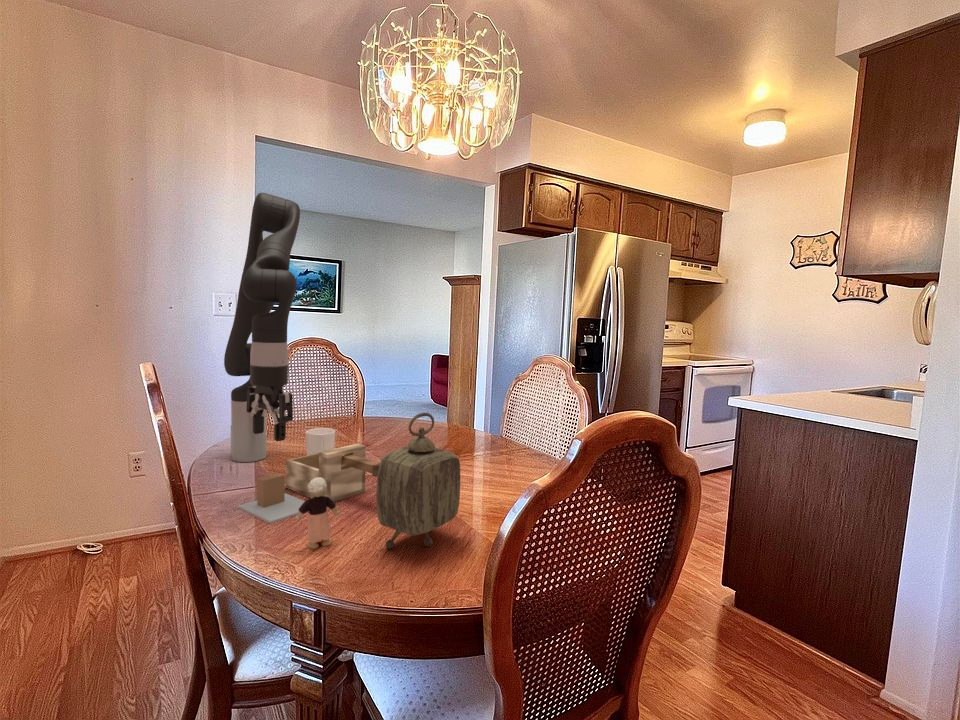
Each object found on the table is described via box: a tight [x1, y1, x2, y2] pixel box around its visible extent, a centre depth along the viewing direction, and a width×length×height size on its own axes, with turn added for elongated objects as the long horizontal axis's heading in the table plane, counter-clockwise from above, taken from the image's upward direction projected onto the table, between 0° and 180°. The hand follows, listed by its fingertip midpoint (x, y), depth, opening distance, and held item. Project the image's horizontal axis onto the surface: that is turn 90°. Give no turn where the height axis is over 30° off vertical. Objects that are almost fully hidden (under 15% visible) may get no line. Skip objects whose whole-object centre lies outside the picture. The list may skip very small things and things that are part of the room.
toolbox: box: [285, 443, 367, 503], centre depth 123 cm, size 16×11×11 cm
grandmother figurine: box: [294, 477, 340, 549], centre depth 94 cm, size 8×4×13 cm, turn 131°
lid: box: [237, 472, 306, 525], centre depth 111 cm, size 13×11×7 cm
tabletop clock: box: [375, 412, 461, 550], centre depth 96 cm, size 14×9×25 cm, turn 145°
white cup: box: [305, 427, 336, 455], centre depth 142 cm, size 8×8×10 cm
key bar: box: [341, 454, 380, 478], centre depth 115 cm, size 12×3×2 cm, turn 53°
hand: (268, 436), depth 111 cm, fingers open, 8 cm apart
